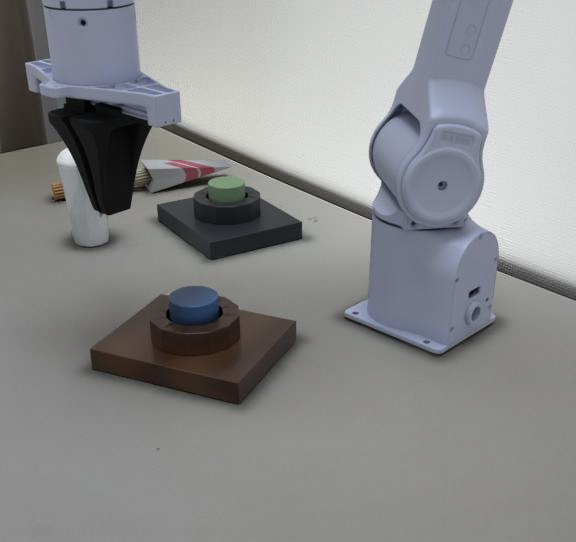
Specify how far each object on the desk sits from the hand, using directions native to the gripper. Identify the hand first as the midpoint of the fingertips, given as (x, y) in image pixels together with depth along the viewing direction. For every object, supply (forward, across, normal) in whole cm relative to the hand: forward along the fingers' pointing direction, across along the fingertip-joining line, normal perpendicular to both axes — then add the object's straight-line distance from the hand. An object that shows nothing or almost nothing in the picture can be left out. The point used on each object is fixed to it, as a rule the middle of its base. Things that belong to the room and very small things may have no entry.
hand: (112, 209), depth 62 cm
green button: (+7, -11, +21) cm, 25 cm away
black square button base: (+10, -11, +21) cm, 26 cm away
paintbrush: (+11, -27, +23) cm, 37 cm away
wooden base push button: (+10, +6, +2) cm, 12 cm away
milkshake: (+11, -18, +10) cm, 23 cm away
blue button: (+7, +6, +2) cm, 10 cm away
